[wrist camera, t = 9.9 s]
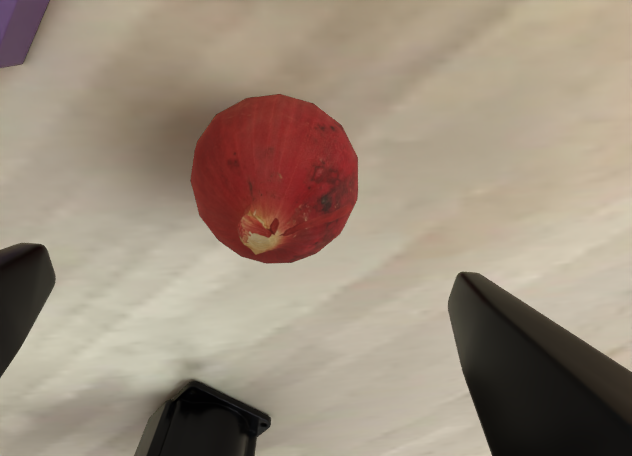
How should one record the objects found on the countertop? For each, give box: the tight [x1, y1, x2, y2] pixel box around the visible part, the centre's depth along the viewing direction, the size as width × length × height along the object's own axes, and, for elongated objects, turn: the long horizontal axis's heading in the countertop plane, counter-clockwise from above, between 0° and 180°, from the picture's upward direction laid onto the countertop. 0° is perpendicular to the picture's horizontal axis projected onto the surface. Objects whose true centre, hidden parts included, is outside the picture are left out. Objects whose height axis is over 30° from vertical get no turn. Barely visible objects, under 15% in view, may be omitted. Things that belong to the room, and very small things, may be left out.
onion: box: [191, 94, 358, 263], centre depth 13 cm, size 6×6×8 cm
